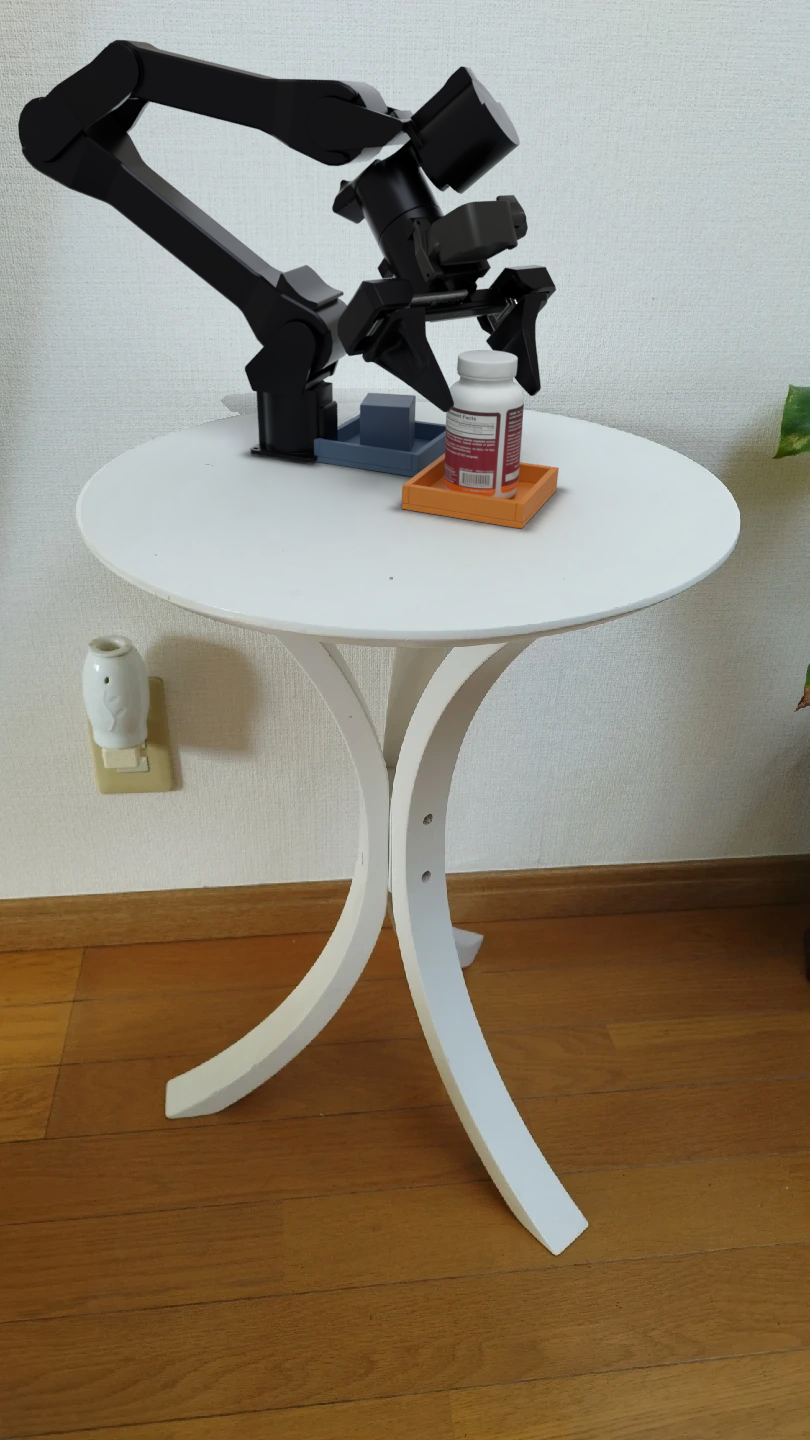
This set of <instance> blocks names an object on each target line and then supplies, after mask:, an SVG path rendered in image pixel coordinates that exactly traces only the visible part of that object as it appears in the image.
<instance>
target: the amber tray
mask: <svg viewBox="0 0 810 1440" xmlns="http://www.w3.org/2000/svg"><path fill="white" fill-rule="evenodd" d="M444 468H445V453H444V454H443V455H441V456H440V457H439V458H438V459H436V460H435V461H434V462H432V463H431V464H430V465H428V466H427V467H426V468H424V469H423V470H422V471H420V472H419V473H418V474H416V475H415V476H414V477H412V476H411V478H410V479H408V480H407V481H406V482H404V483H403V484H402V487H401V509H402V510H407V511H412V512H419V513H424V514H425V513H426V514H431V515H437V516H444V517H449V518H455V519H460V520H461V519H462V520H467V521H474V522H479V523H486V524H491V525H498V526H503V527H509V528H514V529H515V528H516V529H523V528H524V527H525V526H526V525H527V524H528V522H530V521H531V519H532V518H533V517H534V516H535V515H536V514H537V512H538V511H539V510H540V509H541V508H542V507H543V506H544V505H545V504H546V502H548V500H549V499H550V498H551V497H552V496H553V495H554V493H555V492H556V491H557V488H558V487H557V486H558V480H559V479H558V477H559V467H557V466H549V465H543V464H535V463H530V462H529V463H528V462H523V461H520V466H519V482H518V489H517V492H516V494H515V495H514V496H513V497H511V498H509V499H502V498H496V497H490V496H483V495H477V494H471V493H464V492H458V491H452V490H445V488H444Z"/></svg>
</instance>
